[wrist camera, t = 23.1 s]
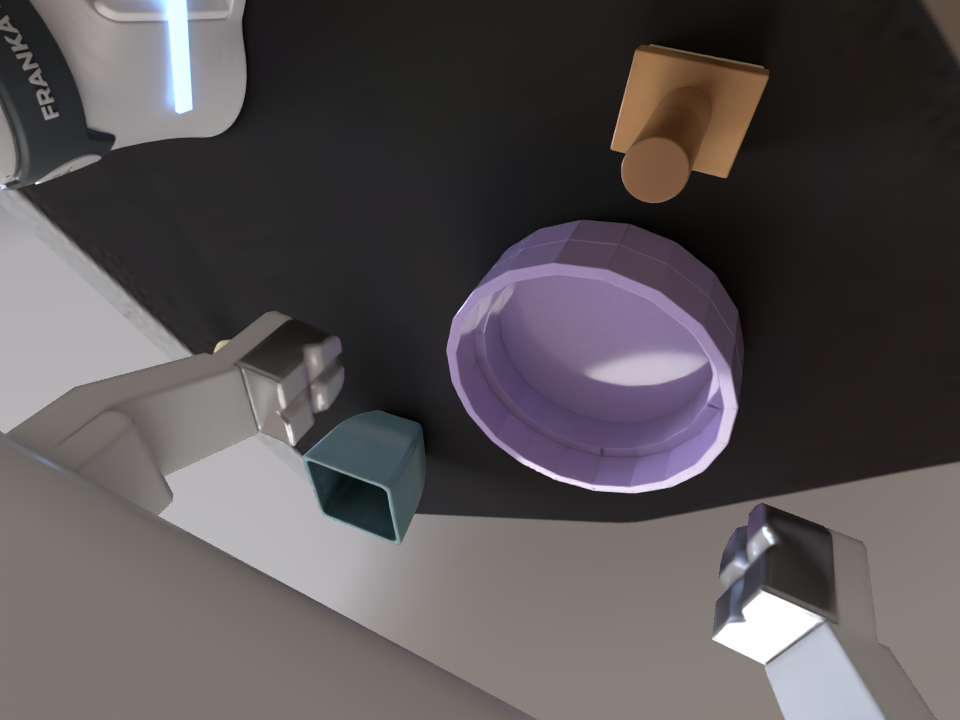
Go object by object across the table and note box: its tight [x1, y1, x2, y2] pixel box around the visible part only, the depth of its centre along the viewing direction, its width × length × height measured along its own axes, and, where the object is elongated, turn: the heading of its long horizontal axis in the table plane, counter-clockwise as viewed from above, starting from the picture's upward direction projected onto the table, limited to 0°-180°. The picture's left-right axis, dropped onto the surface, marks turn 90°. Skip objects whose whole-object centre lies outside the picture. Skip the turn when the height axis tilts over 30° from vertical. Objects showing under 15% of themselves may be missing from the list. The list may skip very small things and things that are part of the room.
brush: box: [611, 44, 770, 203], centre depth 23 cm, size 6×4×10 cm
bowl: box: [447, 220, 745, 493], centre depth 34 cm, size 17×17×6 cm
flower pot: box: [302, 410, 426, 545], centre depth 50 cm, size 9×9×9 cm
